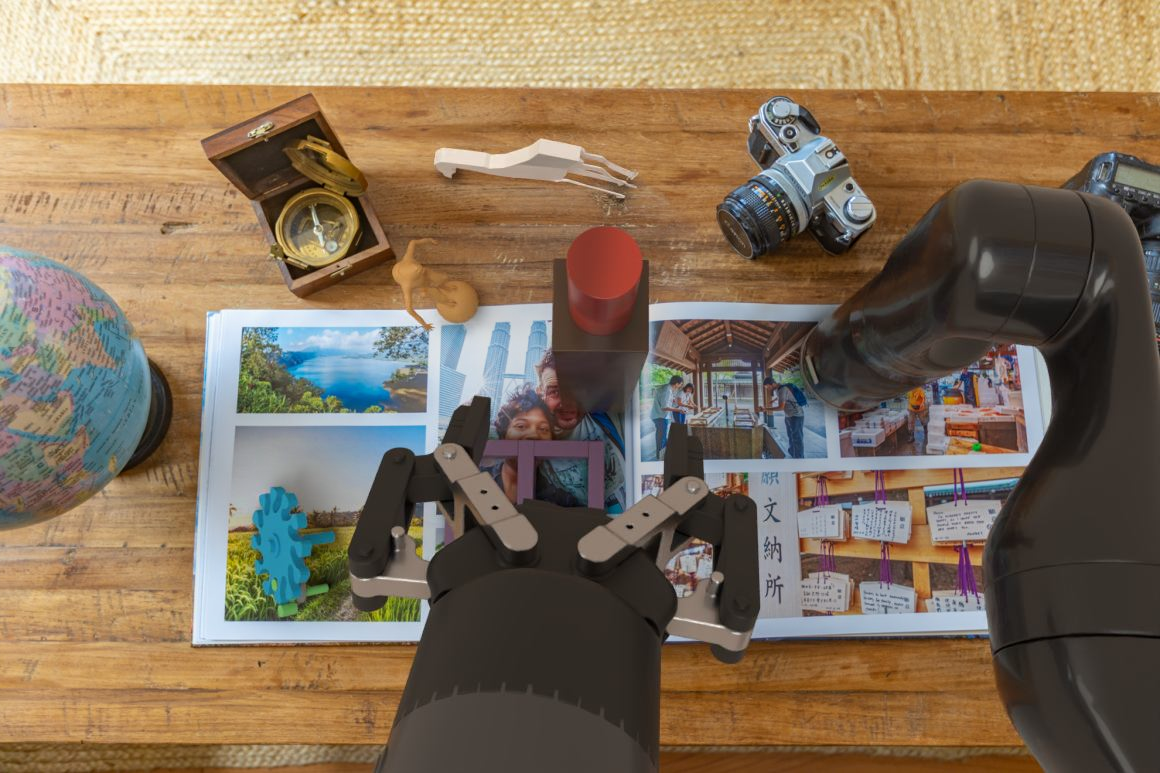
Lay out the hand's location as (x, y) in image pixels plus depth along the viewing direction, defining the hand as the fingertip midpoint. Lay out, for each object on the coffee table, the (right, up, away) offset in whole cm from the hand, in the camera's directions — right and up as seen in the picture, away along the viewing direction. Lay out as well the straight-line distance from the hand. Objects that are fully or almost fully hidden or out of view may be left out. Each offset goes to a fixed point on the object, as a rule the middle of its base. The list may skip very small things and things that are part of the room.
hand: (579, 425), depth 35 cm
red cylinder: (+1, +7, +14) cm, 16 cm away
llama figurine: (-4, +22, +44) cm, 49 cm away
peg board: (-5, -11, +38) cm, 39 cm away
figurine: (-12, +9, +41) cm, 44 cm away
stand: (+1, +2, +40) cm, 40 cm away
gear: (-26, -13, +37) cm, 47 cm away
